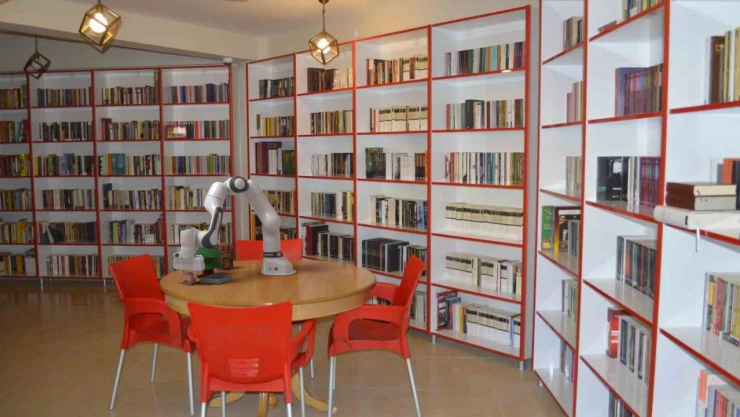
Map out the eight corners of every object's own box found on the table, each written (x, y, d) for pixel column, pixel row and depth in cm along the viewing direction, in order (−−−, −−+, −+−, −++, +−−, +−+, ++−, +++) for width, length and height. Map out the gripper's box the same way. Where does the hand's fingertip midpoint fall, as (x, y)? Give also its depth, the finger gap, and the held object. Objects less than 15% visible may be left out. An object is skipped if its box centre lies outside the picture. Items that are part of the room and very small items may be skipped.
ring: (196, 278, 359) (196, 273, 359) (190, 280, 353) (190, 275, 353) (188, 278, 361) (188, 273, 361) (182, 279, 355) (181, 274, 355)
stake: (195, 283, 359) (195, 272, 358) (190, 285, 354) (190, 273, 354) (188, 283, 361) (188, 271, 360) (183, 284, 356) (183, 273, 355)
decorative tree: (215, 279, 370) (213, 231, 367) (186, 278, 374) (185, 230, 371) (228, 273, 389) (227, 227, 386) (201, 272, 392) (199, 227, 390)
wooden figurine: (215, 270, 400) (214, 243, 398) (216, 268, 406) (215, 242, 404) (233, 270, 401) (233, 243, 400) (234, 268, 408) (233, 241, 406)
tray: (232, 280, 368) (232, 275, 368) (219, 284, 355) (219, 279, 355) (213, 278, 372) (213, 274, 372) (200, 283, 360) (199, 278, 360)
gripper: (206, 254, 355) (207, 277, 356) (177, 252, 362) (178, 275, 363) (200, 255, 349) (201, 279, 350) (171, 254, 356) (171, 277, 358)
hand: (189, 277), depth 357 cm, fingers closed on ring, 6 cm apart
